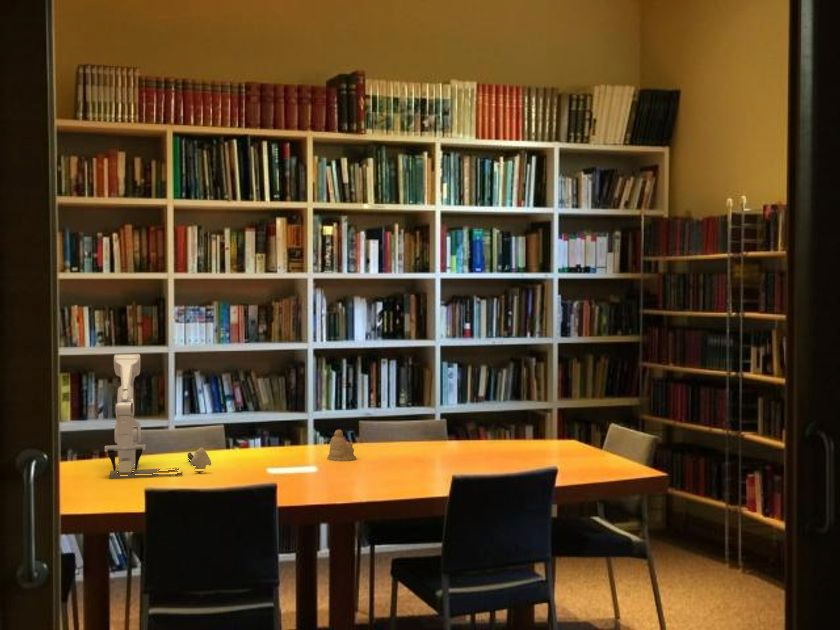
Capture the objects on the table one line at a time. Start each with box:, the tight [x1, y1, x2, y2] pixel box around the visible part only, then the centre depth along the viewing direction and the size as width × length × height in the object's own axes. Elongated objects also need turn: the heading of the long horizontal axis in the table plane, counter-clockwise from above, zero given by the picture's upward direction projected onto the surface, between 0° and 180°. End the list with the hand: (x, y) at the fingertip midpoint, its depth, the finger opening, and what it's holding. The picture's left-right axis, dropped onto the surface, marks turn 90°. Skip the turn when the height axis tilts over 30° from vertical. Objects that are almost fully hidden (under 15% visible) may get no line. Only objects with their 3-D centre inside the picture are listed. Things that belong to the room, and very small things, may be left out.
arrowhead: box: [189, 447, 212, 473], centre depth 404 cm, size 8×3×10 cm, turn 104°
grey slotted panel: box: [109, 467, 183, 480], centre depth 399 cm, size 8×26×2 cm, turn 104°
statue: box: [327, 429, 357, 463], centre depth 435 cm, size 12×14×10 cm
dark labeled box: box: [187, 451, 197, 467], centre depth 422 cm, size 14×25×4 cm, turn 21°
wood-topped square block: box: [118, 458, 133, 474], centre depth 397 cm, size 4×4×6 cm
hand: (125, 470), depth 397 cm, fingers open, 7 cm apart
